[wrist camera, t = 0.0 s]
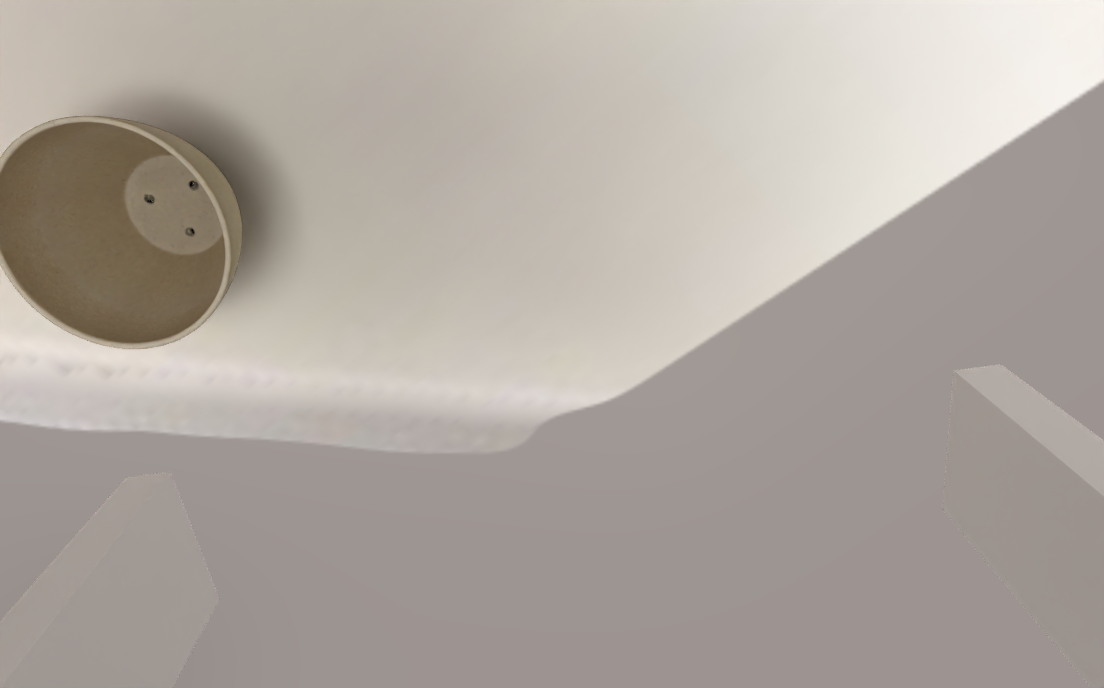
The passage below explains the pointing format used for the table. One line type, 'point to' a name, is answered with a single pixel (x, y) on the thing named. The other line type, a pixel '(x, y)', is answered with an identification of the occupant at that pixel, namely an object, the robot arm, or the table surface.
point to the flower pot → (117, 230)
